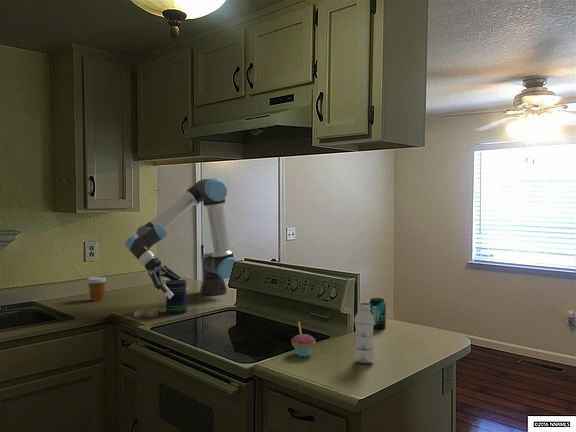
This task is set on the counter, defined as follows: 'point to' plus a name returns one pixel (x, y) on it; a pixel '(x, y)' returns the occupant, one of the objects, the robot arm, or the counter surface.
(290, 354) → the counter surface
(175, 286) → the storage jar
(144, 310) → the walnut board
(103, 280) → the disposable coffee cup
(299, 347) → the cupcake
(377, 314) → the beverage can
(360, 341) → the plastic bottle
